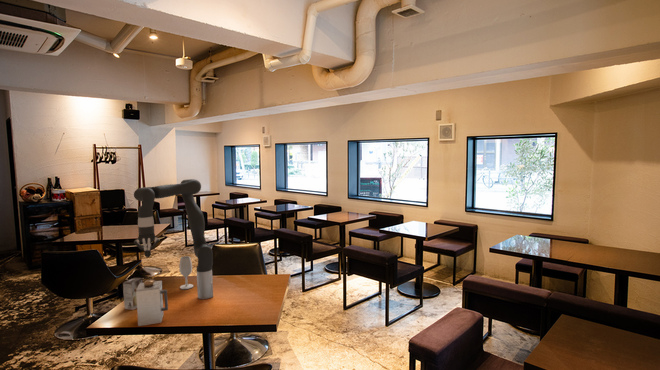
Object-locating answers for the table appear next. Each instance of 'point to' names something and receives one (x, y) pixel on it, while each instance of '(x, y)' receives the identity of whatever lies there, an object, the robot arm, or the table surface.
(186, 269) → the wineglass
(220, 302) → the table surface
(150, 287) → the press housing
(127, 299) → the coffee box
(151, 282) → the brass disc knob
